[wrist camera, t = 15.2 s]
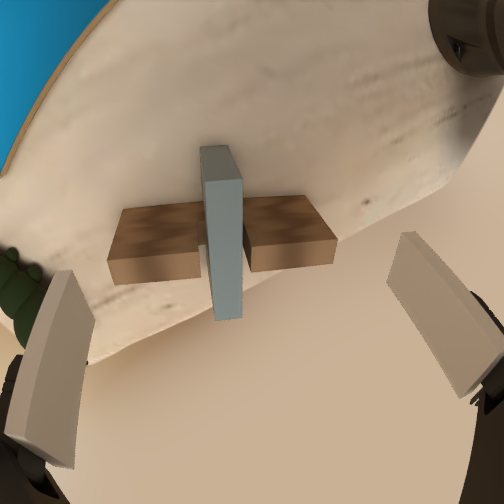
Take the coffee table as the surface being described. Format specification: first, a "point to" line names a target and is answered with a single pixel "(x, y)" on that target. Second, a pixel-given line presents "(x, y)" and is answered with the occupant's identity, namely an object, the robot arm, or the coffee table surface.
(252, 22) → the coffee table surface
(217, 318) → the slate plate
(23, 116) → the book
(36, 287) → the toy figurine
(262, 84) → the coffee table surface
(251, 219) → the walnut board
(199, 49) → the coffee table surface
